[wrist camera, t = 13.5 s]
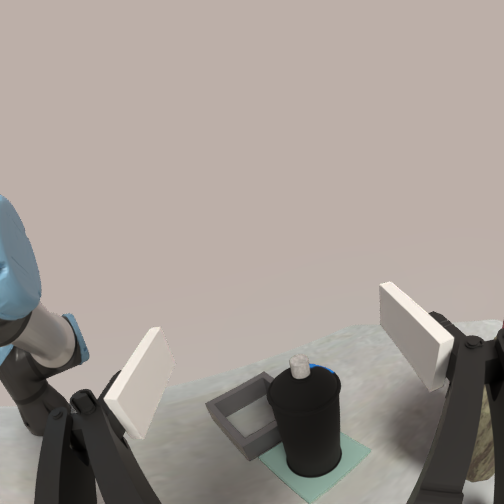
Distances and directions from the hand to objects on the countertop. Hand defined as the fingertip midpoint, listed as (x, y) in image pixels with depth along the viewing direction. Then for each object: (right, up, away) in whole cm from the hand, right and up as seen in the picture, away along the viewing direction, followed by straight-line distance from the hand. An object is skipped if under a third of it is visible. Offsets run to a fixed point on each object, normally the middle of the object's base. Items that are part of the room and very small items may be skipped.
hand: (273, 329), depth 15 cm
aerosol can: (+8, -26, +16) cm, 31 cm away
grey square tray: (0, -25, +26) cm, 36 cm away
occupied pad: (+8, -26, +16) cm, 31 cm away
